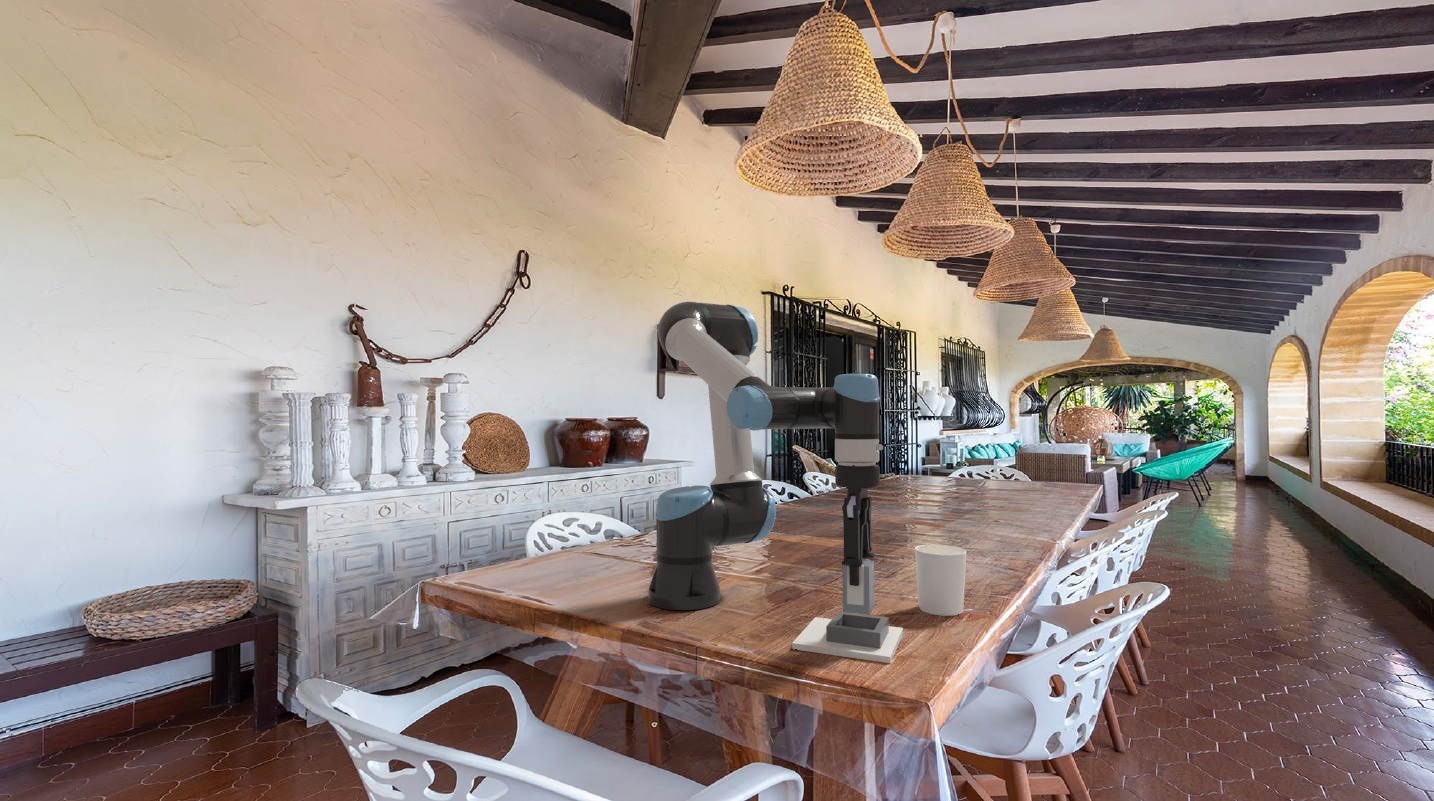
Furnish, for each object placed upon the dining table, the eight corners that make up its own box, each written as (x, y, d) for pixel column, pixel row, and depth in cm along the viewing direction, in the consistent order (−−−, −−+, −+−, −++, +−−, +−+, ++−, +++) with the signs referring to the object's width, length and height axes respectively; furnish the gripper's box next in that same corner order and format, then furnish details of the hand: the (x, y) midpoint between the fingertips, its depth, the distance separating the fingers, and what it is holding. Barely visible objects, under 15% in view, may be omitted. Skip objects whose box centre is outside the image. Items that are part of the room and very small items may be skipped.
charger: (842, 611, 112) (842, 562, 112) (848, 604, 116) (847, 557, 116) (869, 614, 110) (869, 564, 110) (874, 607, 114) (873, 559, 115)
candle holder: (908, 611, 130) (908, 551, 131) (923, 599, 139) (922, 542, 139) (960, 620, 125) (959, 557, 125) (972, 607, 133) (971, 547, 133)
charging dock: (792, 649, 110) (792, 628, 110) (815, 622, 124) (815, 603, 124) (890, 663, 104) (890, 641, 104) (903, 633, 118) (903, 613, 118)
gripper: (870, 468, 104) (871, 617, 104) (887, 460, 120) (888, 589, 120) (823, 466, 107) (824, 611, 107) (846, 459, 123) (847, 585, 123)
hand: (858, 599), depth 113 cm, fingers closed on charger, 4 cm apart
